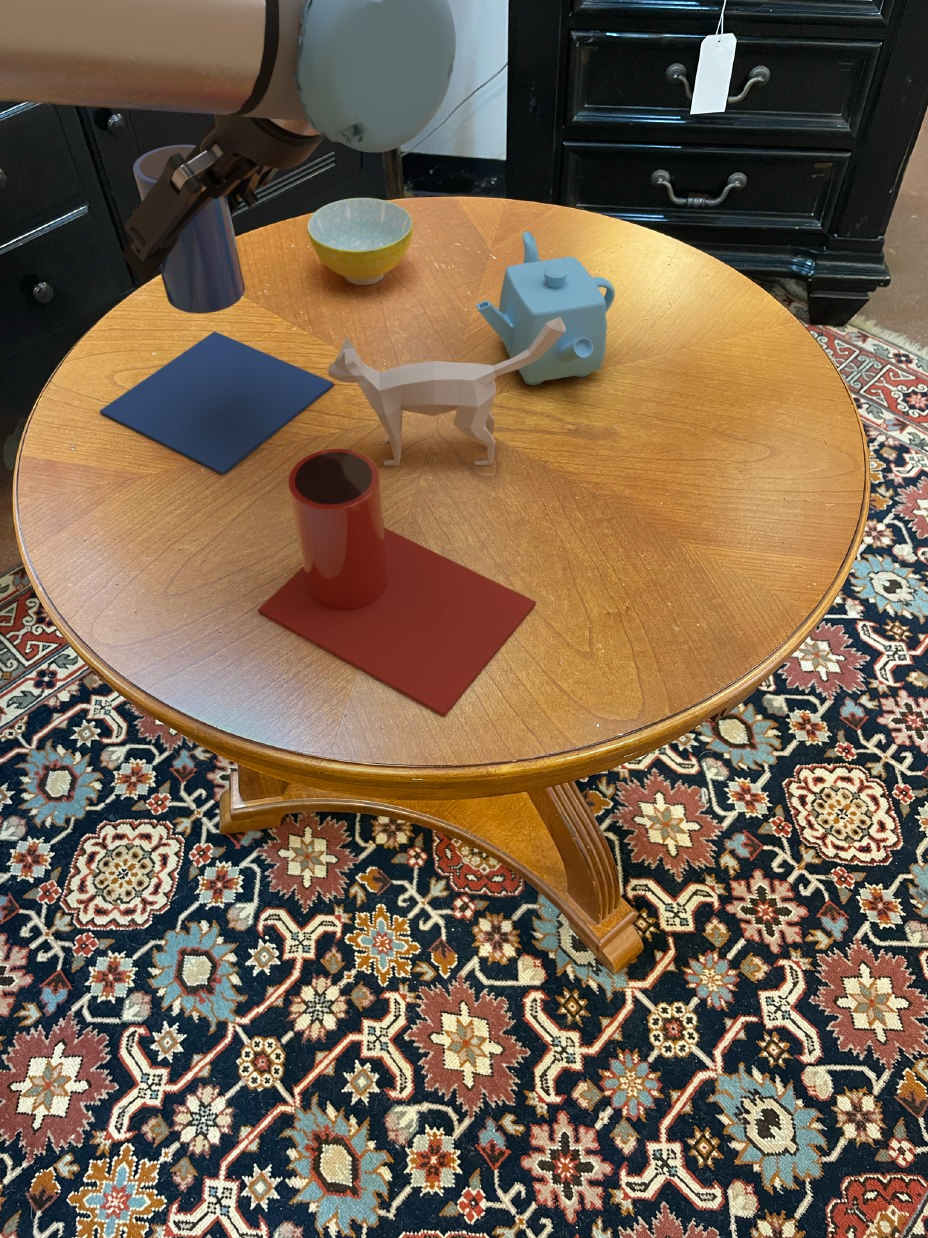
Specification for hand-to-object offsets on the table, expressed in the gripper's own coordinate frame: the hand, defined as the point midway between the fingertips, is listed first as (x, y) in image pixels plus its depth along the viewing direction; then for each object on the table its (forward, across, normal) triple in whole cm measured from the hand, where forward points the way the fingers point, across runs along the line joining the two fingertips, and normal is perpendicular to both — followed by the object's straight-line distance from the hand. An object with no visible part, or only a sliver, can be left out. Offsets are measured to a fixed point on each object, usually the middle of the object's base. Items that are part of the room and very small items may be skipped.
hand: (168, 246), depth 81 cm
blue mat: (+11, +1, -12) cm, 16 cm away
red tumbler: (-8, -11, -30) cm, 33 cm away
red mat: (-11, -11, -34) cm, 37 cm away
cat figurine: (-5, +7, -28) cm, 30 cm away
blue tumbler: (0, 0, -5) cm, 5 cm away
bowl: (+12, +27, -11) cm, 31 cm away
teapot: (-5, +24, -28) cm, 37 cm away
